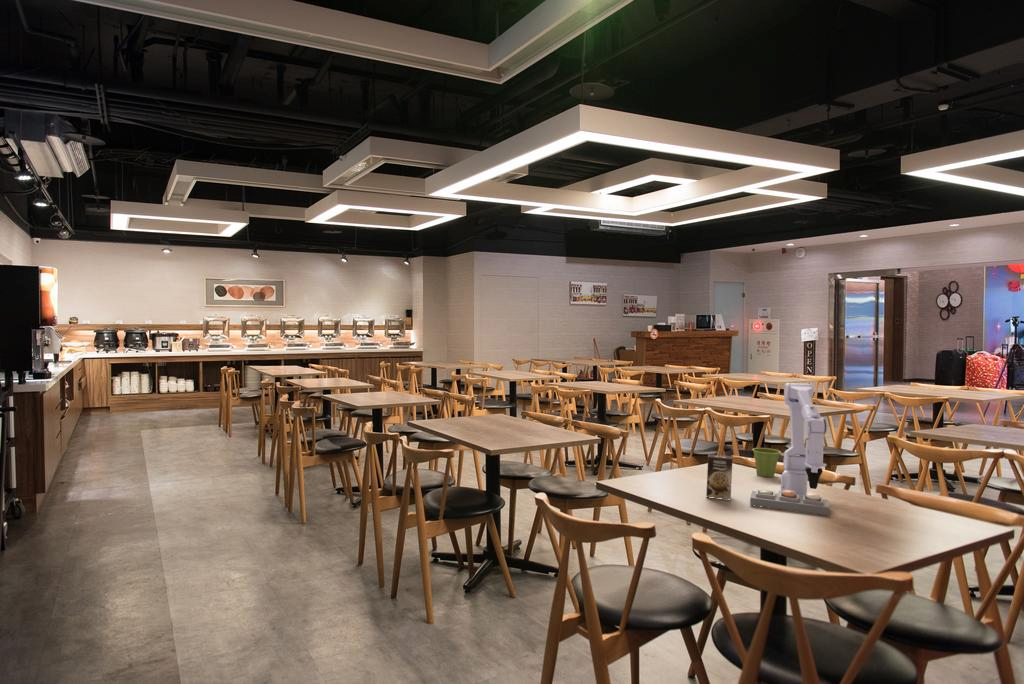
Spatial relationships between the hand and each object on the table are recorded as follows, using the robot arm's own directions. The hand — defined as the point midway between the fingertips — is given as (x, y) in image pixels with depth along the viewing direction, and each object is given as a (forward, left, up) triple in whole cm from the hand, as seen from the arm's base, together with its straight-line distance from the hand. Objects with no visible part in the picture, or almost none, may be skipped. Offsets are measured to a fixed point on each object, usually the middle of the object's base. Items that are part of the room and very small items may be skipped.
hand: (813, 488), depth 231 cm
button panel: (-6, -6, -8) cm, 11 cm away
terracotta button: (-6, -6, -4) cm, 9 cm away
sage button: (-11, -11, -5) cm, 17 cm away
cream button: (0, 0, -4) cm, 4 cm away
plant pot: (-47, +22, -8) cm, 52 cm away
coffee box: (-24, -23, -8) cm, 34 cm away
